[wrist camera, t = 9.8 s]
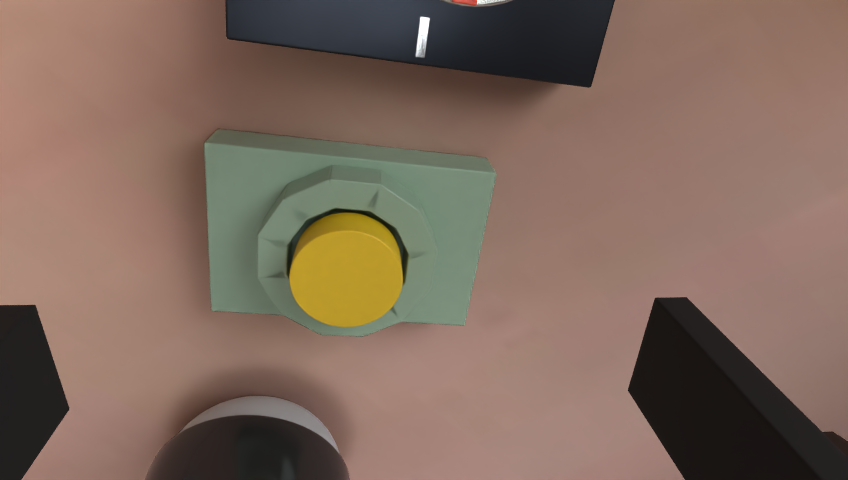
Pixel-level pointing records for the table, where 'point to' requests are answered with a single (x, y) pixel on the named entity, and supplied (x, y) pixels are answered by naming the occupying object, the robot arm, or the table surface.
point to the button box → (338, 193)
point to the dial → (476, 2)
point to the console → (438, 33)
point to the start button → (346, 270)
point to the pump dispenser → (251, 445)
